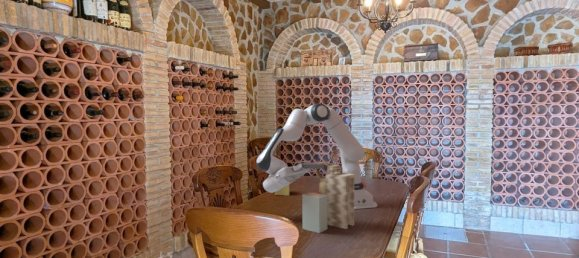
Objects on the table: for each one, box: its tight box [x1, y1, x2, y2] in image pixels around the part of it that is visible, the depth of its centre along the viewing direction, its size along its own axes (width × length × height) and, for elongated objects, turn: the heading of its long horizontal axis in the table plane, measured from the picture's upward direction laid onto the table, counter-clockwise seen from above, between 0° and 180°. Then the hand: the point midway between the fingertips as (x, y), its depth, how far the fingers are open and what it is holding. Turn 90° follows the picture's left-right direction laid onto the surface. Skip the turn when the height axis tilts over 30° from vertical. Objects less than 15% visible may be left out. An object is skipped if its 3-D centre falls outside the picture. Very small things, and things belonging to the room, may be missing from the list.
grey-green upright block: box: [301, 191, 328, 234], centre depth 176 cm, size 10×7×17 cm
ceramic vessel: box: [314, 161, 338, 195], centre depth 233 cm, size 18×19×25 cm
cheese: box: [274, 184, 290, 196], centre depth 251 cm, size 10×11×10 cm
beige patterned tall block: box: [325, 164, 355, 230], centre depth 182 cm, size 12×8×30 cm, turn 51°
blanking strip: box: [296, 162, 325, 170], centre depth 176 cm, size 14×3×2 cm, turn 51°
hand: (304, 164), depth 178 cm, fingers closed on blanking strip, 3 cm apart
